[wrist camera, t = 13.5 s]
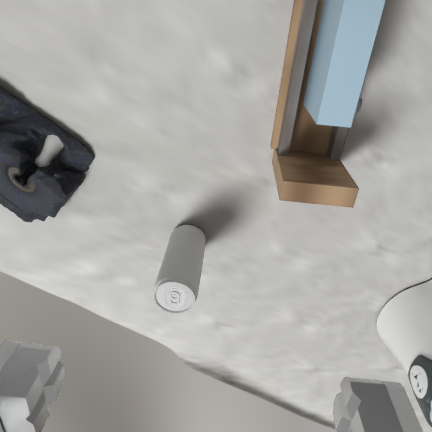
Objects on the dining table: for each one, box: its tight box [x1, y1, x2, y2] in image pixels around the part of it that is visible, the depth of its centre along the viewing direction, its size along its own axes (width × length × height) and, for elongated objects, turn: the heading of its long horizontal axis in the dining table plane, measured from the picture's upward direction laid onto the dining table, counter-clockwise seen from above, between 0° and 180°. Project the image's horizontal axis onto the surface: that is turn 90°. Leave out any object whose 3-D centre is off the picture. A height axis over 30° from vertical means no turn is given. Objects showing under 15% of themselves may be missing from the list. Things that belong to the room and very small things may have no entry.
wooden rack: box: [271, 0, 359, 208], centre depth 33 cm, size 8×24×10 cm, turn 175°
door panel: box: [303, 0, 386, 128], centre depth 32 cm, size 4×10×8 cm, turn 175°
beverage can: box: [153, 225, 206, 314], centre depth 44 cm, size 5×5×12 cm
